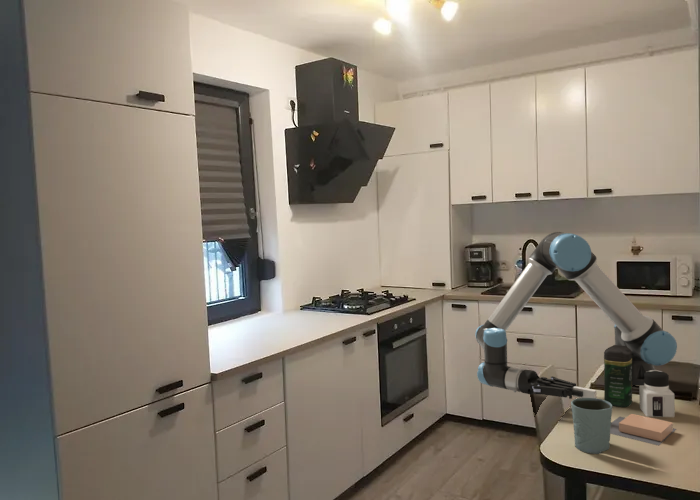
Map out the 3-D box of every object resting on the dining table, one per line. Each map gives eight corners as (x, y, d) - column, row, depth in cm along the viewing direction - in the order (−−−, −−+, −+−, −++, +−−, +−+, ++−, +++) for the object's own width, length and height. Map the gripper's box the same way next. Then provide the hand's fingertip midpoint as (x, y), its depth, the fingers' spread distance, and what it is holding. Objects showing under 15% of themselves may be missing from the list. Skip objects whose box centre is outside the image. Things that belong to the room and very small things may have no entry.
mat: (619, 418, 174) (619, 416, 174) (676, 431, 162) (676, 429, 162) (599, 433, 164) (599, 430, 164) (658, 447, 153) (658, 445, 153)
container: (675, 419, 171) (674, 376, 170) (646, 418, 172) (646, 375, 171) (666, 409, 178) (665, 368, 177) (639, 409, 180) (638, 368, 179)
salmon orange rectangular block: (631, 413, 168) (672, 422, 161) (631, 422, 169) (672, 431, 161) (618, 422, 162) (661, 432, 154) (619, 431, 162) (661, 442, 155)
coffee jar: (629, 410, 179) (628, 351, 178) (602, 406, 184) (601, 349, 182) (634, 400, 187) (633, 344, 186) (608, 397, 192) (607, 342, 190)
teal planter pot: (566, 448, 155) (565, 405, 154) (580, 436, 163) (579, 394, 162) (605, 458, 148) (604, 412, 147) (618, 444, 156) (617, 401, 155)
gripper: (532, 386, 193) (604, 401, 176) (512, 397, 184) (586, 414, 167) (532, 364, 192) (604, 377, 175) (511, 374, 183) (585, 388, 166)
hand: (595, 395), depth 171 cm, fingers closed
